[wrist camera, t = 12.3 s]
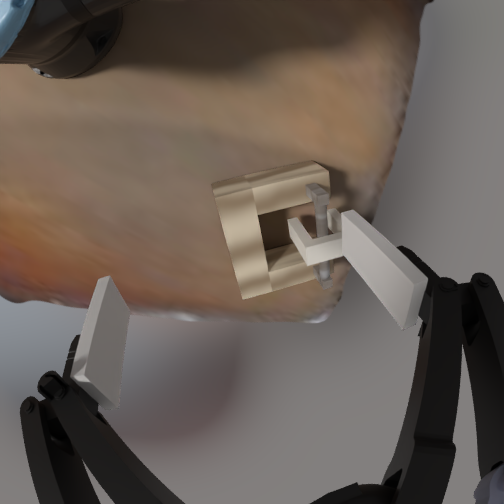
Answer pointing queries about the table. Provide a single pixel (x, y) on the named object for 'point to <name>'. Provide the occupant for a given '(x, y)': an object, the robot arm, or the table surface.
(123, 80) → the table surface
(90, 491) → the robot arm
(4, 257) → the table surface
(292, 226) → the white u-shaped bracket
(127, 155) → the table surface
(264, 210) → the c-clamp
